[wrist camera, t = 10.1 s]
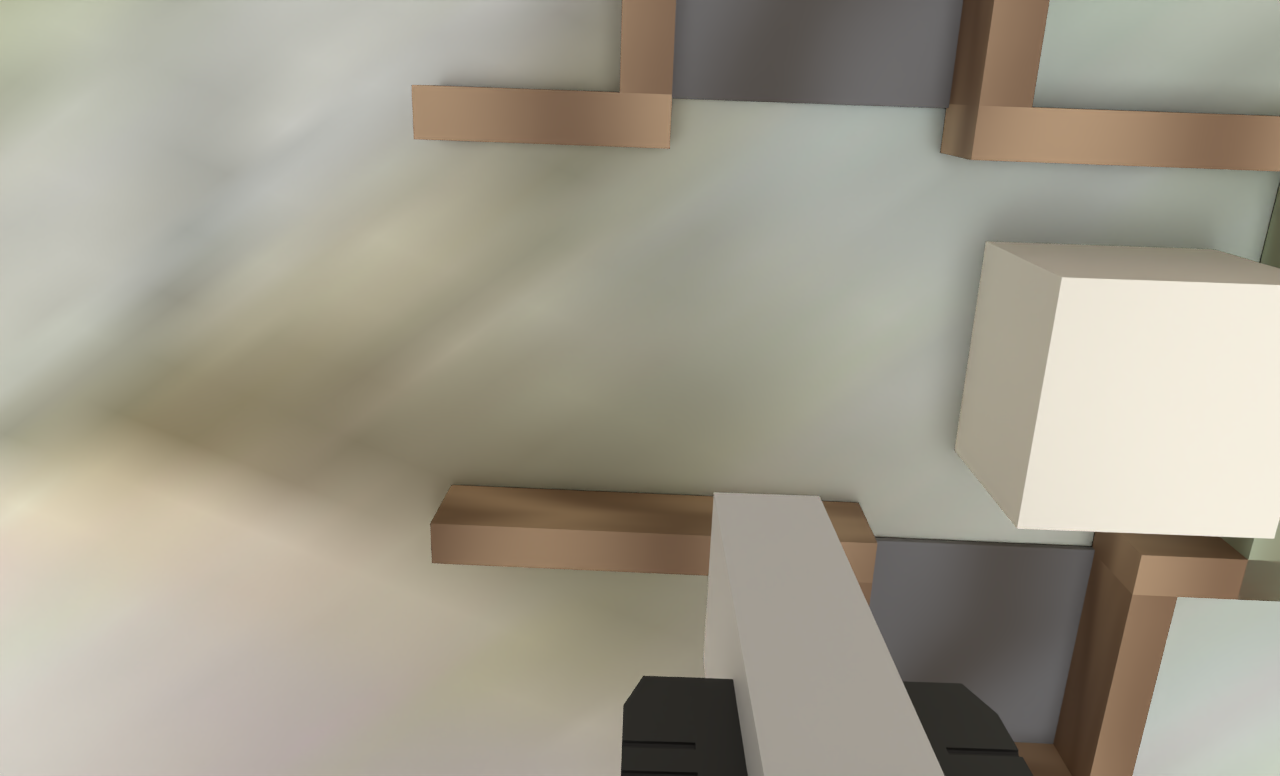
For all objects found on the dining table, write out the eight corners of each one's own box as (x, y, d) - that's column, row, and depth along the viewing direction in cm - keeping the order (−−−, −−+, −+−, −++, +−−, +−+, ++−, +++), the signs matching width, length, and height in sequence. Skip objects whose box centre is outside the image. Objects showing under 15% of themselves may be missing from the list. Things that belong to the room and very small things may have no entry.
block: (953, 448, 26) (1016, 528, 21) (984, 240, 24) (1061, 277, 19) (1163, 456, 26) (1274, 538, 21) (1210, 248, 24) (1344, 287, 19)
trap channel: (460, 741, 30) (442, 798, 27) (425, -284, 21) (393, -332, 18) (1168, 776, 29) (1212, 837, 27) (1444, -253, 20) (1547, -299, 18)
